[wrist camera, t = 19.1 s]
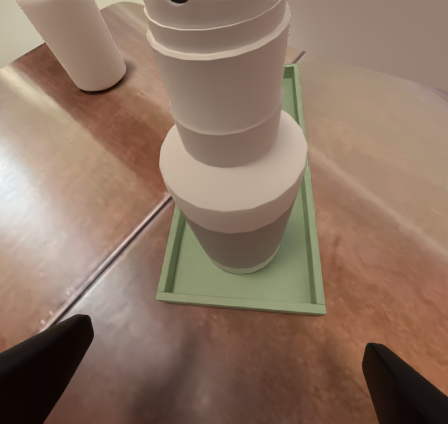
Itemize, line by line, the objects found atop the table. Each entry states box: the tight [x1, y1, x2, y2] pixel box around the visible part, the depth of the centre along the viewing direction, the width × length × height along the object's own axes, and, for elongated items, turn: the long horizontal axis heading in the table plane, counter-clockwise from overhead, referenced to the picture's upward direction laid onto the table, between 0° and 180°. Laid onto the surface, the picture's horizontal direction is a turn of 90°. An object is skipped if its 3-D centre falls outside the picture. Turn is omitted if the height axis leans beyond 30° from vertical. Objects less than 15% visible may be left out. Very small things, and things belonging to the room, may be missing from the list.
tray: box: [155, 64, 326, 316], centre depth 23 cm, size 29×12×2 cm, turn 175°
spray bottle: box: [144, 0, 308, 274], centre depth 12 cm, size 7×7×18 cm
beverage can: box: [16, 0, 126, 91], centre depth 30 cm, size 8×8×12 cm
